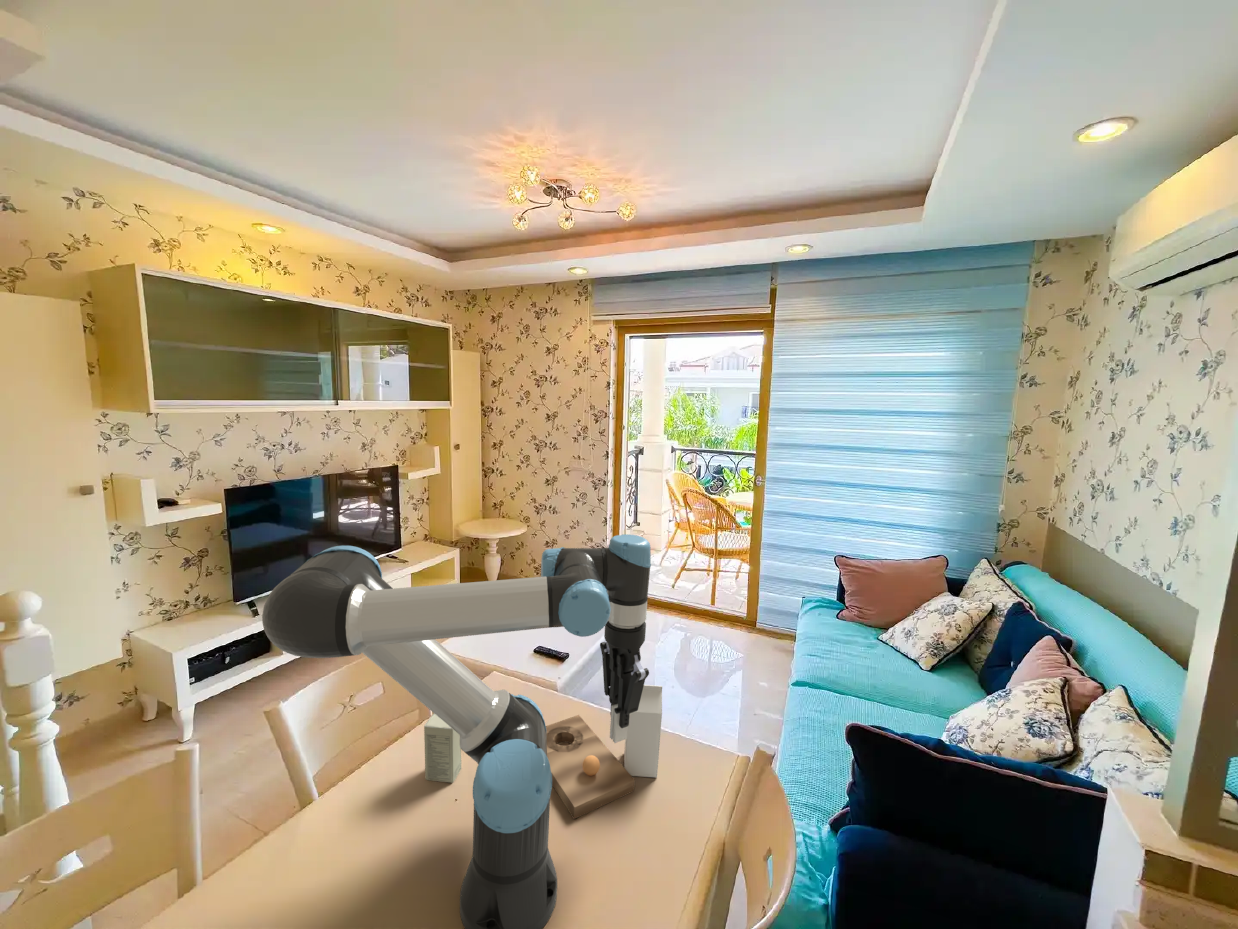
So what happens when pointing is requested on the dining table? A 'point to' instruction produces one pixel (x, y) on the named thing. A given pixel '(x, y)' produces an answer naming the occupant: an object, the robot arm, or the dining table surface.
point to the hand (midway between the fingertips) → (618, 737)
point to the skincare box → (441, 751)
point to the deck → (568, 768)
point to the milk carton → (644, 734)
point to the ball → (591, 765)
